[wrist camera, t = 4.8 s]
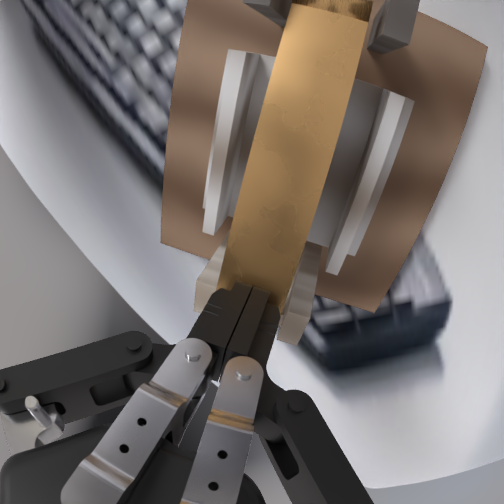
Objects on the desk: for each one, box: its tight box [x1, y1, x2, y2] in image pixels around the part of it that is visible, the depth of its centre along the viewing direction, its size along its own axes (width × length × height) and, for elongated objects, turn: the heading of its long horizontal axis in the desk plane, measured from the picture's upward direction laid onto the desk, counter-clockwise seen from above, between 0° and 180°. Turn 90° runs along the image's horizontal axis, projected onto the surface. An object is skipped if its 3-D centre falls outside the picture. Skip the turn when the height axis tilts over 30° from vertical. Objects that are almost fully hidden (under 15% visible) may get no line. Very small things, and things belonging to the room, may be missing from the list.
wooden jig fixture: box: [161, 0, 488, 346], centre depth 16 cm, size 21×18×9 cm
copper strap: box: [216, 0, 373, 315], centre depth 12 cm, size 16×3×2 cm, turn 168°
